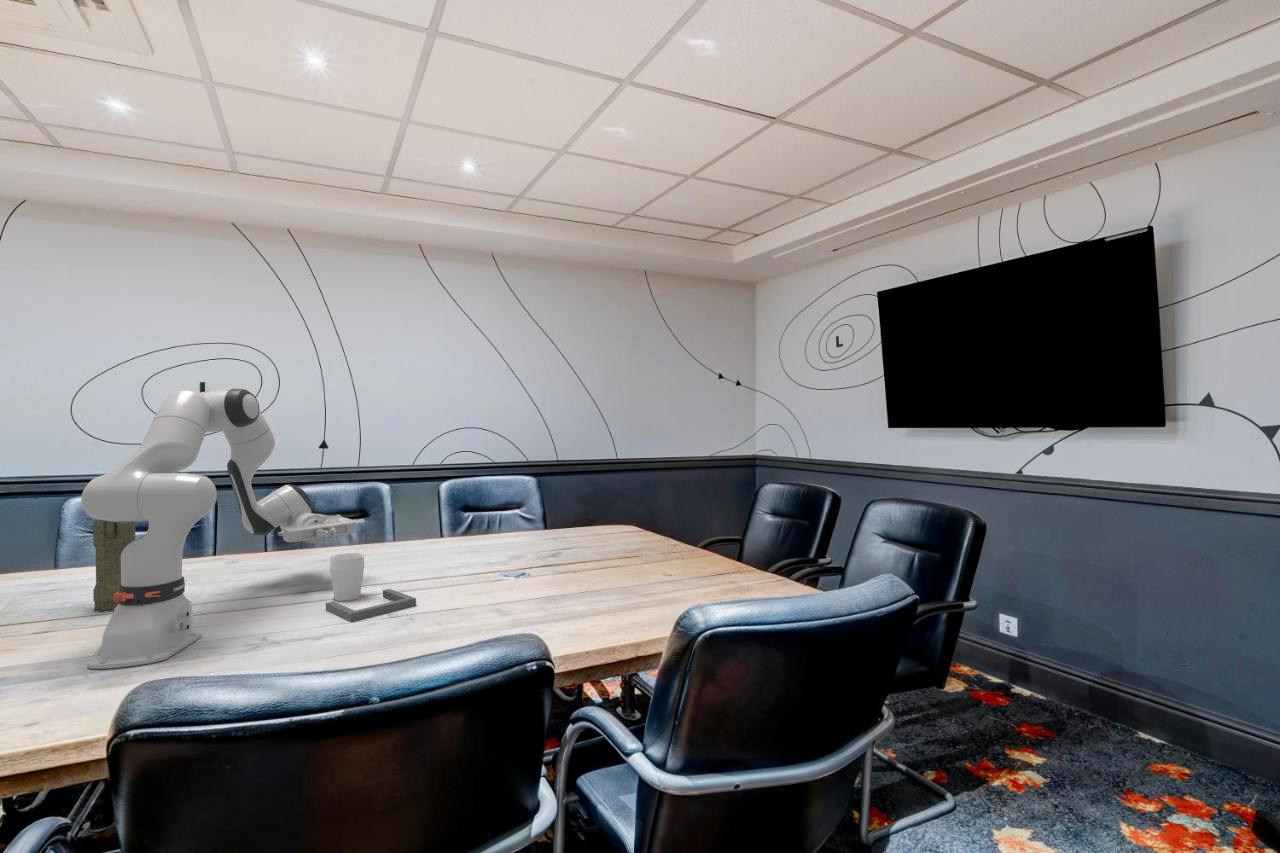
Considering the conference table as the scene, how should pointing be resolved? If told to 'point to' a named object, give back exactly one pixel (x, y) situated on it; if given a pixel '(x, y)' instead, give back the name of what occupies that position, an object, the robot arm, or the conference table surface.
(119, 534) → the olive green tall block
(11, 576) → the conference table surface
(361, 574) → the cup
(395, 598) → the bay
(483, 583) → the conference table surface
